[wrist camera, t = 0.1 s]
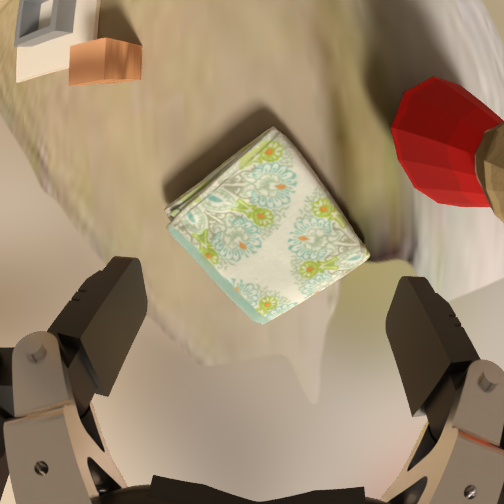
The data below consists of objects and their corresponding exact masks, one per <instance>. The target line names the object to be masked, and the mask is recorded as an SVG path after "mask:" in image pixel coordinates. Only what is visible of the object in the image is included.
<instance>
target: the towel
mask: <svg viewBox="0 0 504 504" xmlns="http://www.w3.org/2000/svg"><path fill="white" fill-rule="evenodd" d="M164 210H165V212H166V213H167V216H168V218H169V219H170V221H171V222H170V223H169V224H168V225H167V226H166V228H167V230H168V231H169V233H170V234H171V235H172V236H173V237H174V239H175V240H176V241H177V242H178V243H179V244H180V245H181V246H182V247H183V248H184V249H185V250H186V251H187V252H188V253H189V254H190V255H191V256H192V257H193V258H194V259H195V261H197V262H198V264H199V265H200V266H201V267H202V268H203V269H204V270H205V272H206V273H207V274H208V275H209V276H210V277H211V278H212V280H213V281H214V282H215V283H216V284H217V285H218V286H219V287H220V288H221V289H222V290H223V291H224V292H225V293H226V294H227V295H228V297H229V298H230V299H231V300H232V301H233V302H234V303H235V304H237V305H238V306H239V307H240V308H241V309H242V310H243V311H244V312H245V313H246V314H247V315H248V316H249V317H250V318H251V319H252V320H253V321H255V322H258V323H260V324H264V323H266V322H268V321H270V320H273V319H275V318H276V317H278V316H279V315H281V314H283V313H285V312H286V311H288V310H290V309H291V308H293V307H294V306H296V305H298V304H299V303H301V302H303V301H304V300H306V299H308V298H309V297H311V296H313V295H314V294H316V293H318V292H319V291H321V290H323V289H324V288H326V287H328V286H329V285H331V284H332V283H334V282H335V281H337V280H338V279H340V278H342V277H343V276H345V275H346V274H348V273H349V272H350V271H352V270H353V269H355V268H356V267H358V266H359V265H360V264H362V263H363V262H365V261H366V260H367V259H368V258H369V257H370V253H369V252H368V250H367V249H366V247H365V245H364V244H363V243H362V241H361V239H360V238H358V236H357V235H356V233H355V232H354V230H353V228H352V226H351V225H350V224H349V222H348V220H347V219H346V217H345V216H344V214H343V212H342V211H341V209H340V208H339V206H338V205H337V204H336V202H335V200H334V199H333V198H332V196H331V195H330V193H329V192H328V190H327V189H326V188H325V186H324V185H323V183H322V182H321V181H320V179H319V178H318V176H317V175H316V174H315V172H314V171H313V170H312V168H311V167H310V165H309V164H308V163H307V161H306V160H305V158H304V157H303V156H302V154H301V153H300V152H299V150H298V149H297V148H296V147H295V146H294V144H293V143H292V142H291V141H290V140H289V139H288V138H287V137H286V136H285V135H284V134H282V133H281V132H280V131H279V130H277V129H276V128H275V127H274V126H273V127H271V128H270V129H268V130H266V131H265V132H264V133H262V134H261V135H260V136H258V137H257V138H255V139H254V140H253V141H252V142H250V143H249V144H248V145H246V146H244V147H243V148H242V149H241V150H239V151H238V152H237V153H235V154H234V155H233V156H231V157H230V158H229V159H227V160H226V161H225V162H224V163H222V164H221V165H220V166H219V167H218V168H216V169H215V170H214V171H213V172H211V173H210V174H209V175H208V176H207V177H205V178H204V179H203V180H202V181H201V182H199V183H198V184H197V185H195V186H194V187H193V188H191V189H190V190H188V191H187V192H186V193H184V194H183V195H181V196H180V197H179V198H177V199H176V200H175V201H174V202H172V203H171V204H170V205H168V206H167V207H166V208H165V209H164Z"/></svg>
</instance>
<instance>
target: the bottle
mask: <svg viewBox="0 0 504 504" xmlns="http://www.w3.org/2000/svg"><path fill="white" fill-rule="evenodd" d="M391 131H392V135H393V140H394V144H395V148H396V153H397V158H398V160H399V162H400V164H401V165H402V167H403V169H404V170H405V172H406V174H407V175H408V177H409V179H410V180H411V182H412V184H413V186H414V188H416V189H418V190H419V191H421V192H422V193H424V194H425V195H427V196H428V197H430V198H431V199H433V200H434V201H436V202H437V203H440V204H447V205H453V206H459V207H491V208H492V210H493V212H494V214H495V215H496V216H497V217H498V218H499V219H500V220H501V221H502V222H504V121H503V120H502V119H501V118H500V117H499V116H498V115H497V114H495V113H494V112H493V111H492V110H491V109H490V108H488V107H487V106H486V105H485V104H484V103H482V102H481V101H480V100H479V99H477V98H476V97H475V96H473V95H472V94H471V93H470V92H468V91H467V90H466V89H464V88H463V87H462V86H460V85H458V84H455V83H452V82H449V81H446V80H443V79H440V78H437V77H431V78H429V79H427V80H425V81H424V82H422V83H420V84H418V85H416V86H415V87H413V88H411V89H409V90H407V91H406V92H404V94H403V97H402V99H401V102H400V105H399V107H398V110H397V112H396V115H395V117H394V120H393V122H392V125H391Z"/></svg>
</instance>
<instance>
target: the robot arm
mask: <svg viewBox="0 0 504 504" xmlns="http://www.w3.org/2000/svg"><path fill="white" fill-rule="evenodd" d="M146 312H147V295H146V290H145V285H144V279H143V274H142V268H141V263H140V261H139V259H138V258H132V257H120V256H115V257H113V258H112V259H111V261H110V262H109V263H108V264H107V266H106V267H105V268H104V269H103V271H100V270H99V271H98V272H97V273H95V274H93V275H92V276H90V277H89V278H87V279H86V280H85V282H84V283H83V284H82V285H81V287H80V288H79V289H78V292H76V293H75V294H74V296H73V297H72V300H71V301H69V302H68V303H67V305H66V306H65V307H64V309H63V310H62V311H61V313H60V314H59V315H58V317H57V318H56V320H55V321H54V322H53V323H52V325H51V326H50V328H49V329H48V331H47V332H45V331H44V332H43V331H39V332H34V333H31V334H29V335H27V336H25V337H24V338H22V339H21V340H20V341H19V342H18V343H17V345H16V346H15V348H0V500H1V497H2V494H3V491H4V487H5V485H6V482H7V479H8V476H9V473H10V478H11V483H12V488H13V492H14V497H15V500H16V504H504V372H503V370H502V369H501V368H500V367H499V366H498V365H496V364H495V363H493V362H491V361H488V360H481V359H480V357H479V356H478V354H477V352H476V350H475V348H474V346H473V344H472V342H471V341H470V339H469V337H468V335H467V333H466V332H465V330H464V328H463V327H461V323H460V321H459V319H458V318H457V317H456V314H455V313H454V311H453V309H452V308H451V306H450V304H449V303H448V302H447V301H446V300H445V299H443V298H442V297H441V296H440V295H439V294H438V293H435V291H434V290H433V288H432V286H431V285H430V283H429V282H428V280H427V279H426V278H425V277H411V276H403V277H401V279H400V280H399V283H398V286H397V288H396V291H395V294H394V297H393V300H392V303H391V306H390V308H389V311H388V314H387V317H386V333H387V337H388V339H389V342H390V345H391V348H392V351H393V354H394V357H395V360H396V364H397V367H398V370H399V373H400V376H401V379H402V383H403V386H404V389H405V393H406V396H407V400H408V403H409V407H410V410H411V414H412V417H417V416H423V415H427V418H428V422H427V423H426V424H425V425H424V427H423V430H422V431H421V433H420V436H419V438H418V440H417V442H416V444H415V446H414V448H413V450H412V452H411V454H410V456H409V458H408V460H407V462H406V464H405V465H404V468H403V469H402V471H401V473H400V474H399V476H398V477H397V479H396V480H395V481H394V483H393V484H392V485H391V486H390V487H389V488H388V489H387V491H386V492H385V494H384V495H383V496H382V497H381V499H380V500H378V499H374V498H369V497H365V492H364V487H356V488H346V489H333V490H315V491H311V492H307V493H303V494H299V495H295V496H290V497H285V498H280V499H275V500H270V501H264V502H256V501H252V500H248V499H245V498H242V497H238V496H235V495H232V494H229V493H226V492H223V491H220V490H217V489H214V488H212V487H209V486H207V485H203V484H197V483H191V482H185V481H180V480H175V479H169V478H165V477H160V476H156V475H153V478H152V482H151V485H138V486H131V487H127V485H126V483H125V480H124V479H123V477H122V475H121V473H120V472H119V470H118V468H117V467H116V465H115V463H114V462H113V460H112V458H111V455H110V453H109V450H108V448H107V445H106V443H105V440H104V437H103V434H102V431H101V429H100V426H99V423H98V420H97V417H96V414H95V410H94V407H93V405H92V403H91V400H92V398H93V395H94V393H96V394H100V395H103V396H107V397H108V396H109V394H110V392H111V389H112V387H113V385H114V383H115V380H116V378H117V376H118V374H119V371H120V369H121V367H122V365H123V363H124V360H125V358H126V356H127V354H128V352H129V350H130V347H131V345H132V343H133V341H134V339H135V337H136V335H137V333H138V331H139V329H140V326H141V325H142V322H143V320H144V318H145V316H146Z"/></svg>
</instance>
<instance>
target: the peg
mask: <svg viewBox="0 0 504 504" xmlns="http://www.w3.org/2000/svg"><path fill="white" fill-rule="evenodd" d="M141 65H142V46H141V45H137V44H133V43H129V42H125V41H120V40H116V39H111V38H106V37H105V38H101V39H96V40H92V41H88V42H84V43H80V44H76V45H72V46H70V59H69V86H74V85H86V84H104V83H115V82H123V81H132V80H141Z"/></svg>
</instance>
